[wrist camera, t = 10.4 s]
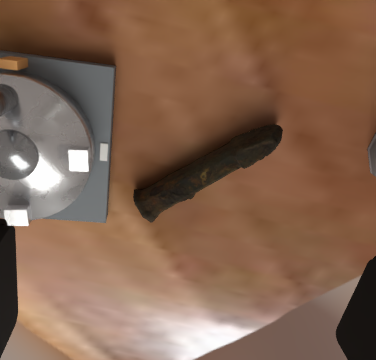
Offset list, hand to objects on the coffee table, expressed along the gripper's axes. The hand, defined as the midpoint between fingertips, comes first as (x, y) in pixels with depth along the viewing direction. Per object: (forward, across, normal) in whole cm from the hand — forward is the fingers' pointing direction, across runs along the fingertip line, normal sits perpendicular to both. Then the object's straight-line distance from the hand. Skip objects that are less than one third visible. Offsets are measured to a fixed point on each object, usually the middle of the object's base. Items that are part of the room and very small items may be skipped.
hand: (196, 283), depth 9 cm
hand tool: (+32, -6, +8) cm, 33 cm away
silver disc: (+29, +14, +8) cm, 33 cm away
